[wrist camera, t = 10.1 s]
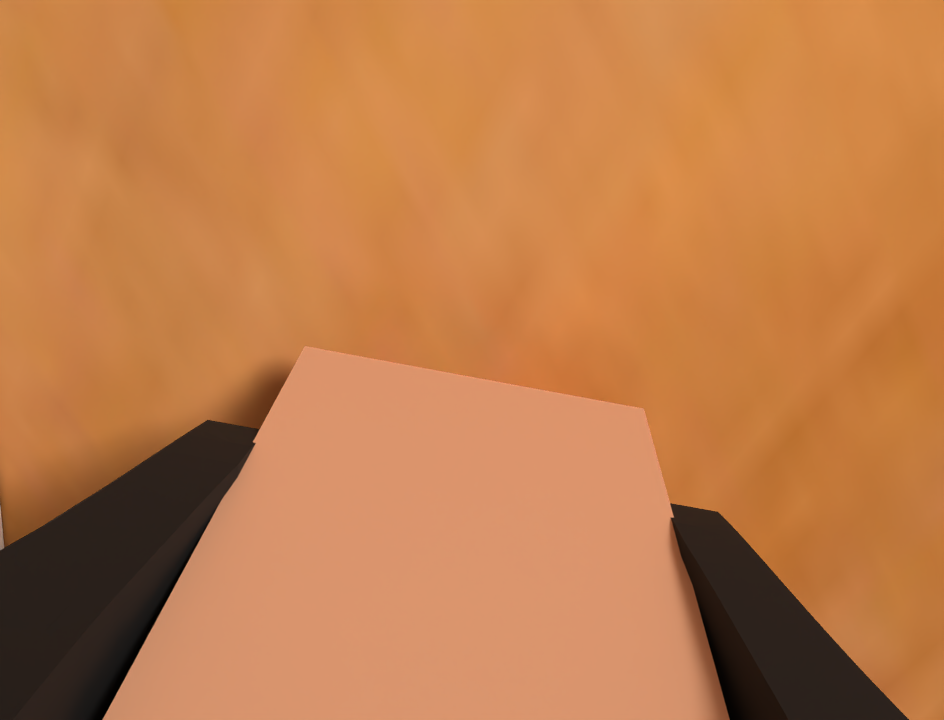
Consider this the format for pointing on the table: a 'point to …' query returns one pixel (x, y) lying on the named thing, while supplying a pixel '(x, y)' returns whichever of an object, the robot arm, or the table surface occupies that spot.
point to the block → (432, 564)
